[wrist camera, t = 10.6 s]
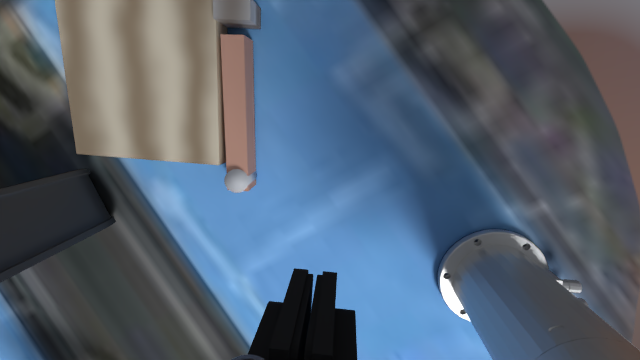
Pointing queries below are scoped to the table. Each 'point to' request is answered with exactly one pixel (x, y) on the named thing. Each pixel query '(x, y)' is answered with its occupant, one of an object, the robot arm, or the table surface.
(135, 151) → the stool seat
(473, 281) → the robot arm
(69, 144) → the table surface
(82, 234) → the speaker
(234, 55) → the folding leg
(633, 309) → the table surface
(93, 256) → the table surface
